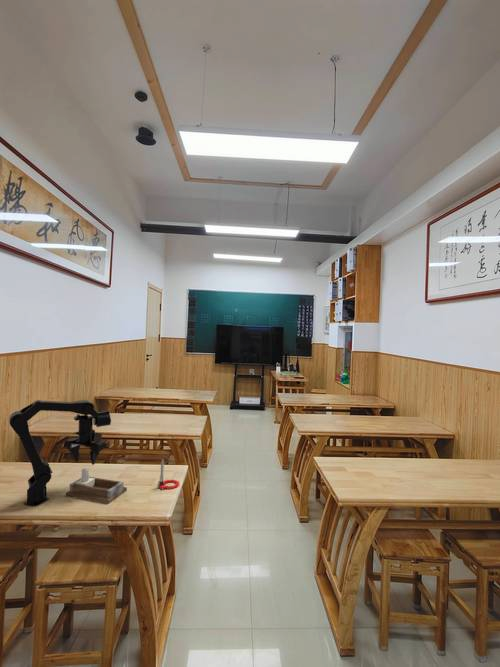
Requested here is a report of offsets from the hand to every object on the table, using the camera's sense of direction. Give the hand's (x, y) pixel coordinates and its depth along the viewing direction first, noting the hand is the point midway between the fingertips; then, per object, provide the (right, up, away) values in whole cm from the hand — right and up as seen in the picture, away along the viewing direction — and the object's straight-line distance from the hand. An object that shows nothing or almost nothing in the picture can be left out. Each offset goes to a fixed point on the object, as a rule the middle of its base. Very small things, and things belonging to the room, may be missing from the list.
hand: (85, 463), depth 148 cm
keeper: (+1, -10, -2) cm, 10 cm away
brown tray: (+7, -12, -3) cm, 14 cm away
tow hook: (+37, -13, +6) cm, 39 cm away
